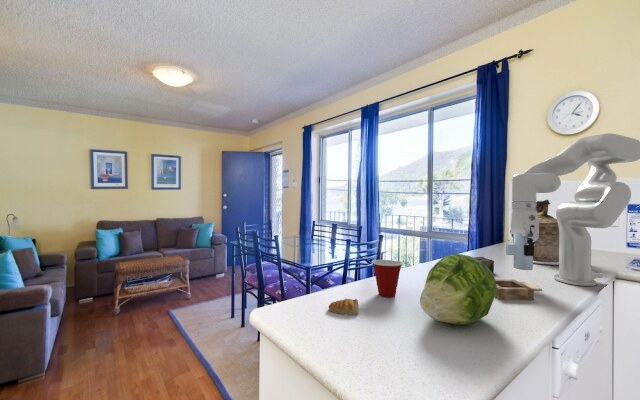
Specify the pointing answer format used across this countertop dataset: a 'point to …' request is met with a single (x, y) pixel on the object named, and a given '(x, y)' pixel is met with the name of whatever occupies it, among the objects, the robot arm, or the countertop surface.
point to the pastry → (345, 307)
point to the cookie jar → (546, 236)
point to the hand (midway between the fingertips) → (523, 253)
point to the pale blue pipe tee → (519, 253)
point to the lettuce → (458, 290)
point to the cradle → (513, 290)
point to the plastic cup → (387, 276)
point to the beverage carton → (487, 263)
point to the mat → (531, 286)
